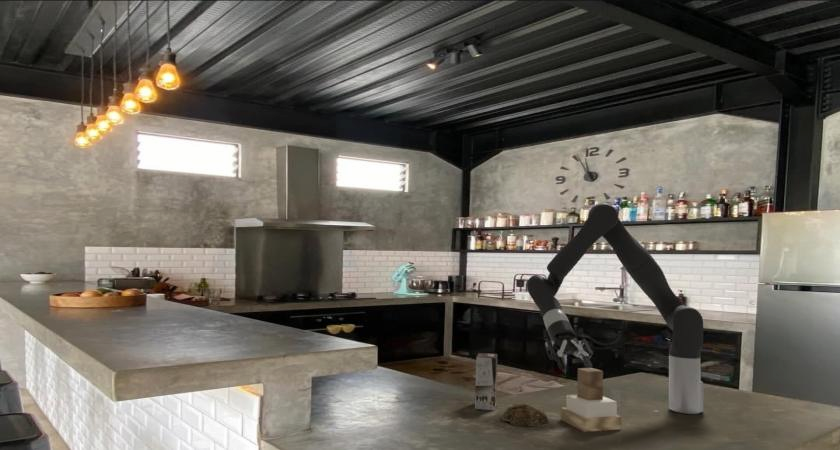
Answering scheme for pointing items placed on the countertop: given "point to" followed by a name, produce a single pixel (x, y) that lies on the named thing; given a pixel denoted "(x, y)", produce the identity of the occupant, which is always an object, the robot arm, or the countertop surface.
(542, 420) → the bread roll
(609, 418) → the tower base
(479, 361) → the coffee box
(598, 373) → the walnut block
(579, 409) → the tower top
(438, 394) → the countertop surface
